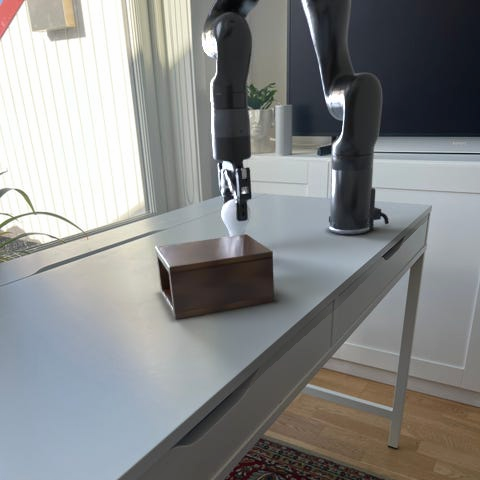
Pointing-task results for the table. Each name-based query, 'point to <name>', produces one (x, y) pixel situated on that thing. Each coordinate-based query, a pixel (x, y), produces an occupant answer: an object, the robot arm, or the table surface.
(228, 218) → the lightbulb
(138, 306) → the table surface
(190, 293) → the shelf
